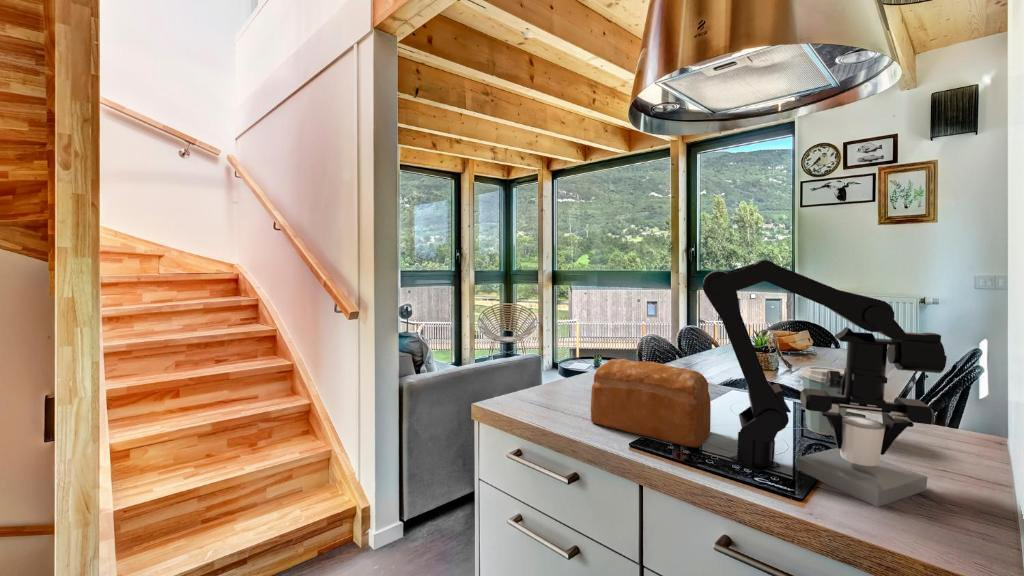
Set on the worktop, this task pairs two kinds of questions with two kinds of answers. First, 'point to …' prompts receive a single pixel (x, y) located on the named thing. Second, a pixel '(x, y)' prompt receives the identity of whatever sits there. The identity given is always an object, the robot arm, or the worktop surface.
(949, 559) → the worktop surface
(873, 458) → the white cup
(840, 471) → the slate board
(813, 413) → the disposable coffee cup
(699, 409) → the bread
